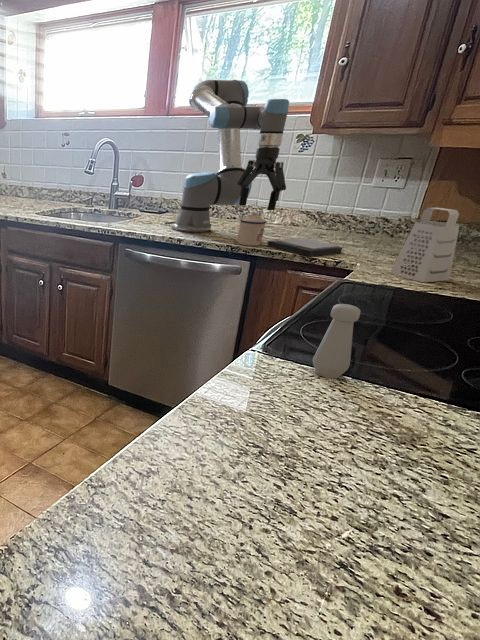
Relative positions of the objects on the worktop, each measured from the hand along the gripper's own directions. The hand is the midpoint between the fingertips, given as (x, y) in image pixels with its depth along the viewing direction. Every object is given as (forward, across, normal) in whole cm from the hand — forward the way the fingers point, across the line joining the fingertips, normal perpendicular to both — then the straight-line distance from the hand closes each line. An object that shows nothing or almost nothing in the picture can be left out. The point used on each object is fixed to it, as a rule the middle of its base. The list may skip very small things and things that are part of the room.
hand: (256, 207), depth 197 cm
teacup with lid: (+13, 0, 0) cm, 13 cm away
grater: (+14, +56, +11) cm, 58 cm away
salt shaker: (+15, +95, -78) cm, 123 cm away
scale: (+13, +16, +10) cm, 23 cm away
